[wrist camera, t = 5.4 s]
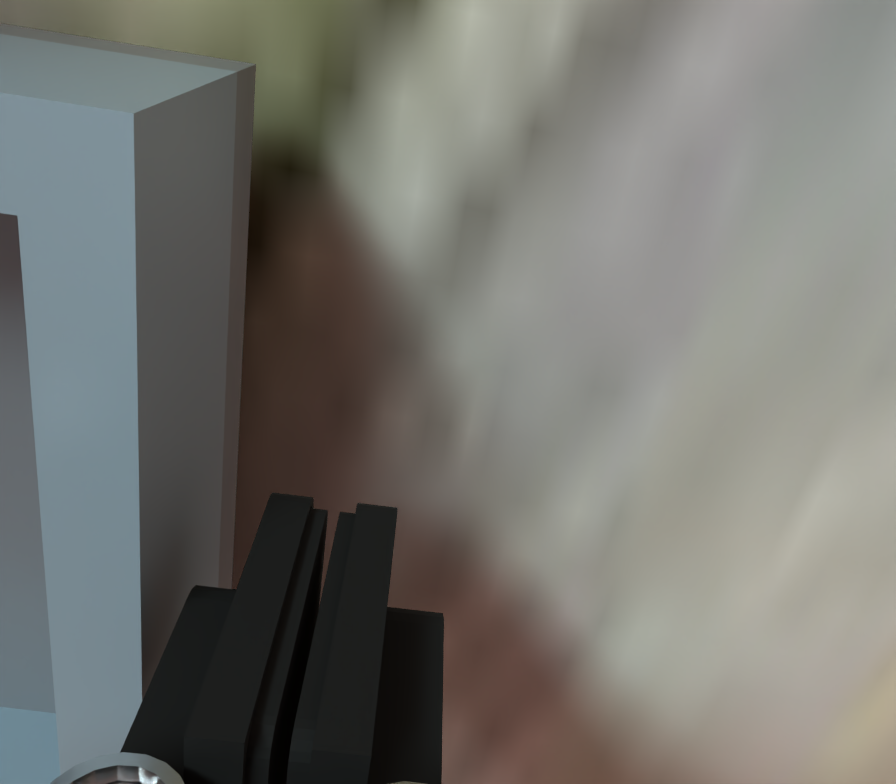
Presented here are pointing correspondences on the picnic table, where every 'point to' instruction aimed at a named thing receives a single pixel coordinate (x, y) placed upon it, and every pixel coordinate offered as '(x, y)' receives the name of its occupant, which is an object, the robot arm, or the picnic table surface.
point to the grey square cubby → (112, 373)
